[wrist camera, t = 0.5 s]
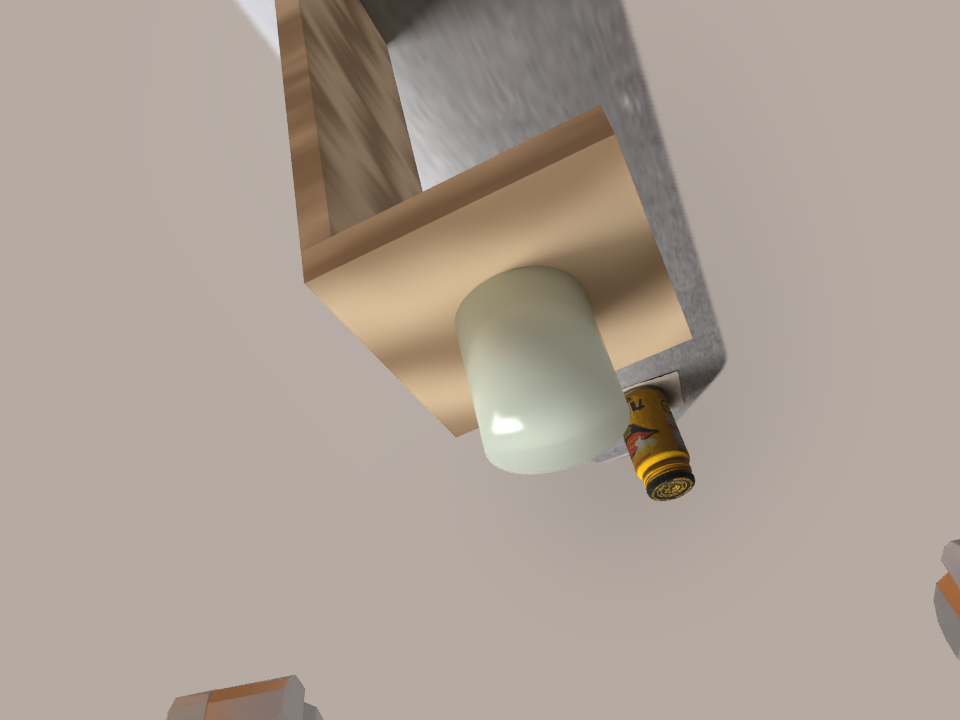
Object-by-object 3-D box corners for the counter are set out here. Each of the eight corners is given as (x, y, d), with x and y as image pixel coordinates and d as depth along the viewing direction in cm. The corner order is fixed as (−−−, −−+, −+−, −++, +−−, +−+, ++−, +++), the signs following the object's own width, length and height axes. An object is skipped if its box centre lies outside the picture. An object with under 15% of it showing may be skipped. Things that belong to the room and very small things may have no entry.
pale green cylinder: (479, 259, 28) (514, 386, 25) (607, 272, 30) (656, 391, 27) (438, 353, 32) (465, 474, 28) (555, 359, 34) (593, 473, 30)
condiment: (604, 394, 93) (638, 486, 86) (677, 369, 93) (717, 460, 85) (614, 424, 99) (647, 514, 92) (683, 402, 98) (721, 490, 91)
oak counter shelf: (262, -117, 46) (304, 283, 27) (440, -225, 43) (614, 134, 25) (370, 53, 55) (455, 437, 37) (521, -28, 53) (692, 338, 34)
